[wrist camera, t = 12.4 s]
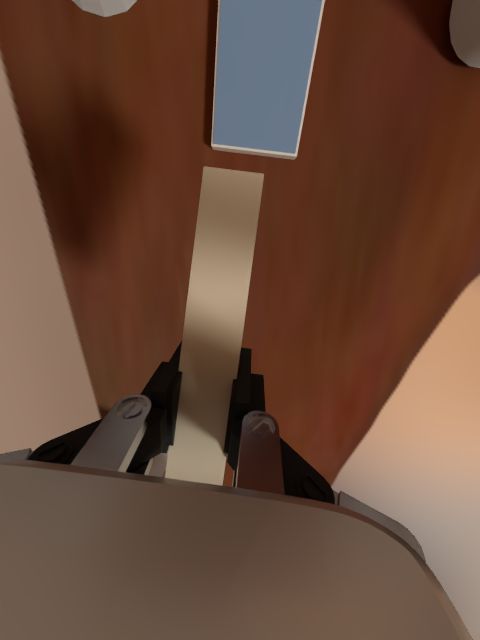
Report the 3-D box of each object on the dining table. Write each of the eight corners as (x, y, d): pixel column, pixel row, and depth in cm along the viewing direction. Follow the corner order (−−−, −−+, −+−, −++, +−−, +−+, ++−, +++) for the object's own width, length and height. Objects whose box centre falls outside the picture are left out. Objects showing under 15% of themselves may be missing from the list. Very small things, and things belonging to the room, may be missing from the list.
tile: (296, 156, 21) (326, -7, 17) (210, 145, 21) (219, -19, 17) (293, 160, 22) (319, 13, 18) (214, 151, 22) (222, 1, 18)
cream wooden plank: (221, 486, 13) (212, 560, 9) (181, 481, 13) (155, 552, 9) (257, 217, 13) (264, 174, 9) (216, 211, 13) (203, 166, 9)
